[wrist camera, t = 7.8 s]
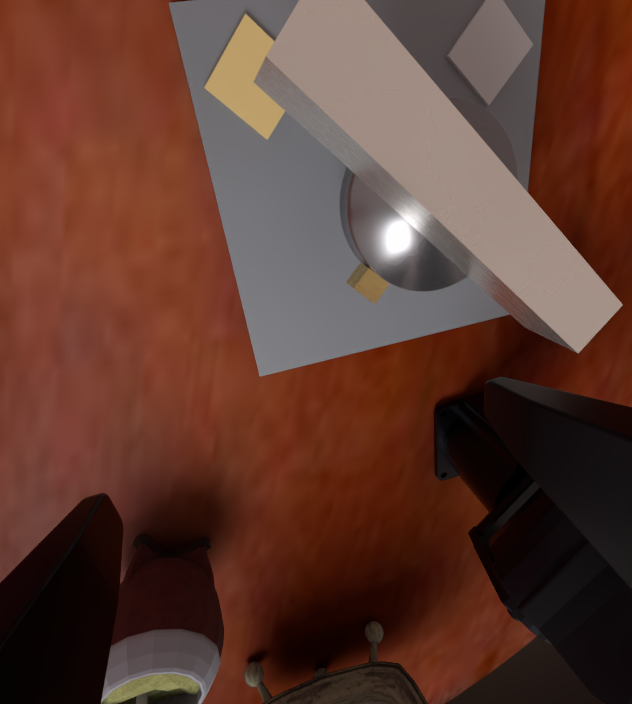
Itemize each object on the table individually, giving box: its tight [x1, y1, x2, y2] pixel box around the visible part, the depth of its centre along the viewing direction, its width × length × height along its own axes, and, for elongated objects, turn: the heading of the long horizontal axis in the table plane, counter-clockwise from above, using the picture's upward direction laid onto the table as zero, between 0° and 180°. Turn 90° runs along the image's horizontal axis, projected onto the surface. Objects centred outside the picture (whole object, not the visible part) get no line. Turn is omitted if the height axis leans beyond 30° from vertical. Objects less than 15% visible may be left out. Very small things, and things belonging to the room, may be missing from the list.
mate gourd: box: [101, 534, 224, 704], centre depth 20 cm, size 8×8×15 cm
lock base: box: [169, 0, 545, 376], centre depth 18 cm, size 16×16×4 cm
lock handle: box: [254, 0, 623, 353], centre depth 14 cm, size 15×8×5 cm, turn 53°
